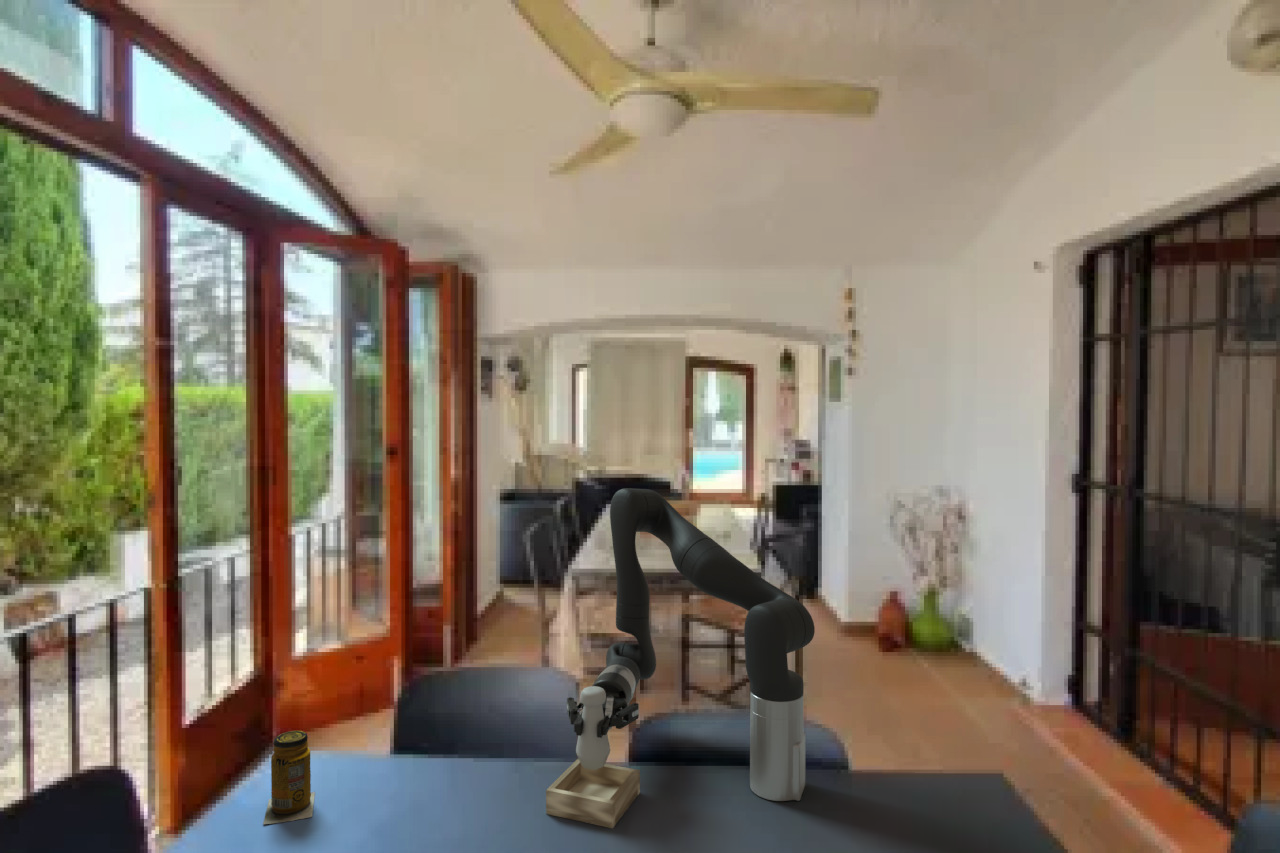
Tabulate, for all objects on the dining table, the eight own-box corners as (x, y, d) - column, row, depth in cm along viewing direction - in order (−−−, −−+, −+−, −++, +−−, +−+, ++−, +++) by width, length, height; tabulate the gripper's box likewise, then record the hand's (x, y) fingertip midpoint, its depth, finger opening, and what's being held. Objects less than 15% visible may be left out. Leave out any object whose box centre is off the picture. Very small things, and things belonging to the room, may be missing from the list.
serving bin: (639, 792, 133) (639, 770, 133) (612, 828, 121) (612, 803, 121) (577, 780, 137) (577, 758, 137) (546, 813, 126) (546, 790, 126)
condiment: (315, 793, 133) (314, 725, 132) (312, 817, 125) (311, 745, 124) (268, 800, 130) (267, 731, 130) (262, 826, 122) (261, 752, 122)
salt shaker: (605, 774, 126) (605, 697, 125) (572, 770, 127) (571, 694, 126) (613, 757, 132) (613, 683, 131) (581, 754, 133) (581, 681, 132)
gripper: (576, 668, 144) (548, 705, 127) (649, 674, 142) (630, 712, 125) (576, 707, 145) (548, 749, 128) (649, 713, 142) (630, 757, 125)
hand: (588, 730), depth 126 cm, fingers closed on salt shaker, 3 cm apart
